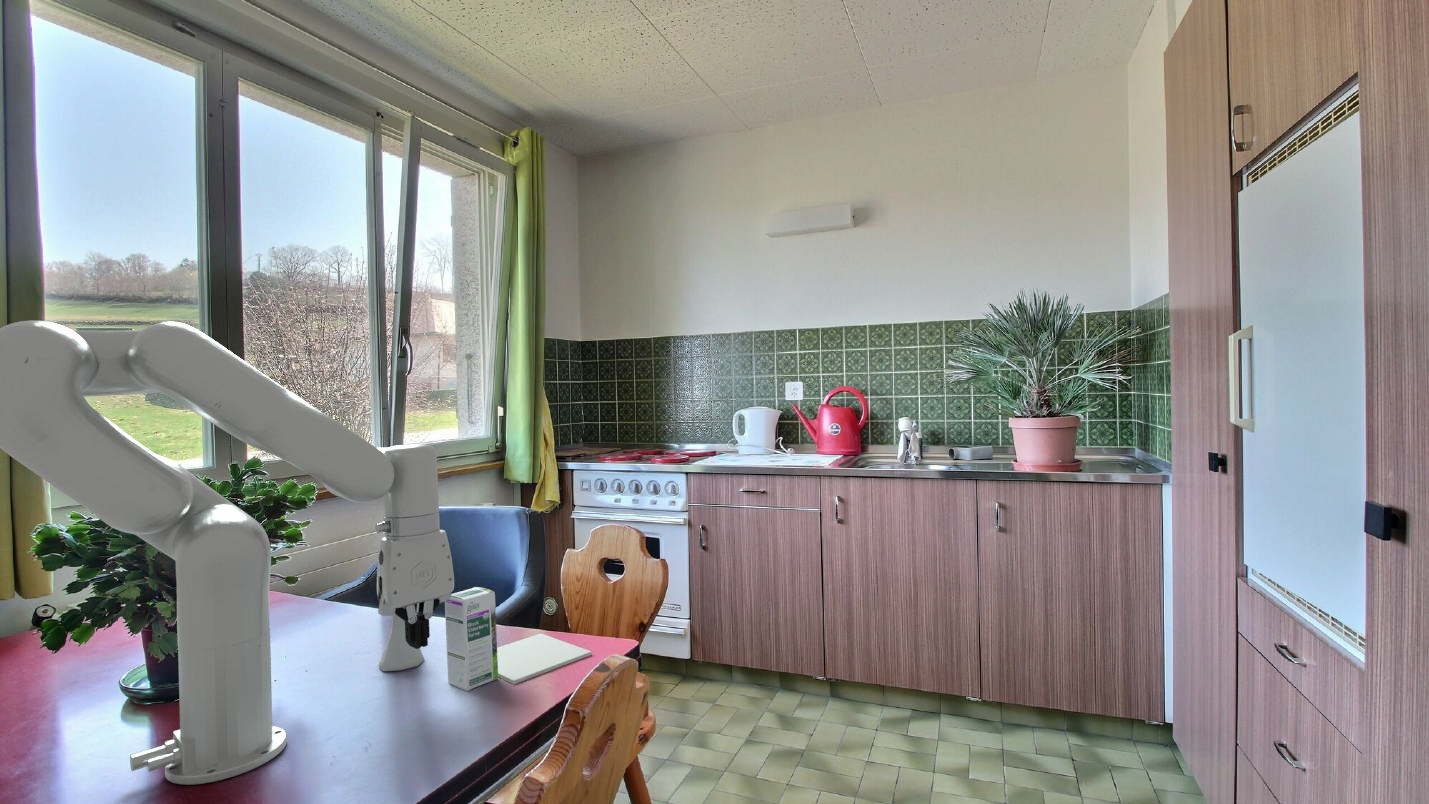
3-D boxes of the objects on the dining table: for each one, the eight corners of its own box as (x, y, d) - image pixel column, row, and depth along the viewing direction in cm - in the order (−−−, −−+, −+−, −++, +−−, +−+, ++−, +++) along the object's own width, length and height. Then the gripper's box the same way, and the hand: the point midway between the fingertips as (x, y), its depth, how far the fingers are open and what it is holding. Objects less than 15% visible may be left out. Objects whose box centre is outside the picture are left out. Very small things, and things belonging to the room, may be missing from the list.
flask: (423, 668, 113) (422, 610, 113) (376, 675, 110) (374, 616, 110) (425, 654, 120) (423, 599, 120) (380, 660, 117) (379, 604, 117)
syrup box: (467, 692, 103) (464, 599, 103) (446, 683, 106) (444, 593, 106) (498, 679, 107) (496, 590, 107) (477, 671, 111) (475, 585, 111)
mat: (513, 684, 105) (513, 680, 105) (465, 661, 115) (465, 658, 115) (591, 654, 117) (591, 651, 117) (541, 636, 127) (540, 633, 127)
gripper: (371, 537, 92) (376, 668, 92) (471, 519, 103) (476, 636, 103) (350, 531, 97) (356, 655, 97) (448, 515, 108) (453, 626, 108)
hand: (418, 645), depth 100 cm, fingers closed
